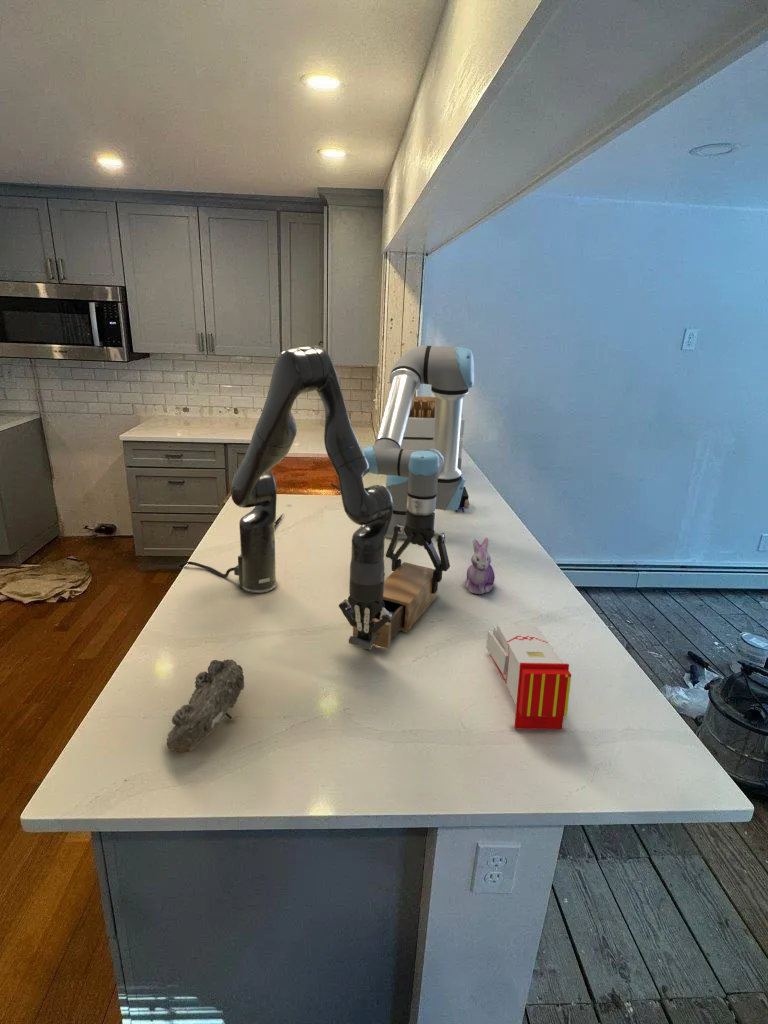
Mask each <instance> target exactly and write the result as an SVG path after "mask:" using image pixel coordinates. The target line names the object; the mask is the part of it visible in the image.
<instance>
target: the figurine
mask: <svg viewBox="0 0 768 1024" xmlns="http://www.w3.org/2000/svg"><path fill="white" fill-rule="evenodd" d="M472 544H473V553H472V555H471V559H470V561H471V565H470V566H469V567H468V568H467V570H466V579H465V587H466V589H467V590H468V592H469V593H472V594H476V595H477V594H478V595H483V594H485V593H489V592H490V591H491V590H492V589H493V588H494V587H493V586H494V584H495V579H496V577H495V576H496V575H495V570H494V568H493V566H492V565H491V562H492V559H491V555H490V553H489V550H488V547H489V538H488V537H485V538H484V539H483V541H482V543H481V544H480V543H479V540H478V539H477V538H473V540H472Z"/></svg>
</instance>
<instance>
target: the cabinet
mask: <svg viewBox="0 0 768 1024" xmlns="http://www.w3.org/2000/svg"><path fill="white" fill-rule="evenodd" d="M434 570H435V568H431V567H427V566H423V565H419V564H415V563H409V562H405V561H404V562H401V565H400V566H399V567H398V568H397V569H396V570H395V571H392V573H390V574H389V575H388V576H387V577H386V578H384V592H383V600H387V601H390V602H394V603H398V604H402V605H405V606H406V609H405V624H404V625H403V626H402V628H401V629H400V630H399V631H401V632H404V633H408V632H409V631H410V630H411V629H412V627H413V626H414V625H415V624H416V623H417V621H418V620H419V619H420V617H421V616H422V615H423V614H424V613H425V611H426V610H427V609H428V608H429V607H430V605H431V604H432V603H433V602H434V600H435V599H436V598H437V597H438V590H437V591H436V592H435V593H434V594H432V581H433V571H434Z"/></svg>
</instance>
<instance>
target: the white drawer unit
mask: <svg viewBox="0 0 768 1024" xmlns="http://www.w3.org/2000/svg"><path fill="white" fill-rule="evenodd" d="M435 399H436V396H415V395H414V398H413V402H412V406H411V410H410V414H409V418H408V422H407V426H406V430H405V434H404V438H403V442H402V446H401V449H406V450H417V451H424V450H426V449H433V433H434V416H435ZM464 429H465V419H464V418H463V414H462V415H461V427H460V440H459V453H458V465H457V468H458V469H459V470H460V471H461V472H462V461H463V460H462V453H463V442H464V441H463V440H462V439H463V438H464V431H465V430H464Z"/></svg>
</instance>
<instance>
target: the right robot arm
mask: <svg viewBox="0 0 768 1024" xmlns="http://www.w3.org/2000/svg"><path fill="white" fill-rule="evenodd" d="M474 360H475V359H474V354H473V352H472V350H471V349H470V348H467V347H460V346H448V345H447V346H445V345H428V344H424V345H423V344H422V345H417V346H415V347H412V348H411V349H409V350H407V351H406V352H405V353H403V355H401V356H400V357H399V358H398V360H397V361H396V362H395V363H394V365H393V367H392V369H391V372H390V375H389V383H390V386H389V387H390V388H389V390H388V394H387V398H386V402H385V405H384V407H383V411H382V415H381V418H380V423H379V426H378V429H377V433H376V437H375V440H374V444H373V445H365V447H364V448H363V449H362V450H363V452H364V454H365V456H366V459H367V461H368V463H369V467H370V470H369V472H368V473H367V474H372V475H376V476H377V475H378V476H379V475H384V476H386V482H385V487H386V488H387V489H388V490H389V492H390V494H391V496H392V499H393V513H392V517H391V521H390V524H389V528H388V531H387V534H386V537H385V538H387V539H389V540H390V542H389V545H388V548H387V550H386V552H385V554H384V557H385V558H387V559H390V561H391V572H394V571H395V570H396V569H397V568H398V567H399V566H400V565H401V564H402V559H401V558H400V557H401V555H402V554H403V553H404V552H405V550H406V549H407V548H408V546H409V545H410V544H411V545H418V546H419V547H423V548H424V550H425V551H426V552H427V554H428V557H429V558H430V561H431V562H432V565H433V567H434V569H435V570H434V571H433V581H432V594H434V593H435V592H436V591H437V592H438V589H439V587H438V586H439V583H440V582H441V581H442V580H443V572H447V571H448V570H449V569H450V567H451V564H450V559H449V556H448V550H447V546H446V542H445V541H446V533H444V532H441V533H439V532H436V531H435V519H436V518H435V517H436V513H435V512H436V510H440V511H444V512H445V511H451V512H452V511H453V512H454V511H455V510H457V511H458V508H459V505H460V501H461V497H462V492H463V488H464V487H465V483H466V478H465V477H463V476H462V470H461V471H460V470H459V469H458V468H457V465H458V453H459V440H460V439H461V438H460V427H461V418H462V417H461V415H462V416H463V400H464V397H466V396H467V395H468V394H469V389H471V388H473V387H474V386H475V385H474V383H475V361H474ZM421 385H430V386H431V387H430V392H431V393H432V394H433V395H434V397H436V399H435V416H434V433H433V449H426V450H424V451H417V450H406V449H401V446H402V442H403V438H404V434H405V430H406V426H407V422H408V418H409V414H410V410H411V406H412V402H413V398H414V396H415V393H416V392H417V391H418V390H419V388H420V386H421ZM330 486H332V487H333V488H335V489H336V490H338V491H339V492H341V491H340V486H337V485H336V484H333V483H331V482H330ZM455 512H456V511H455ZM433 538H434V539H435V542H436V544H437V549H436V548H435V545H434V542H433V540H432V539H433ZM399 541H403V542H402V544H401V545H400V546H399V548H398V549H397V550H396V552H395V549H396V547H397V545H398V543H399ZM437 550H438V551H437ZM394 552H395V553H394Z"/></svg>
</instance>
